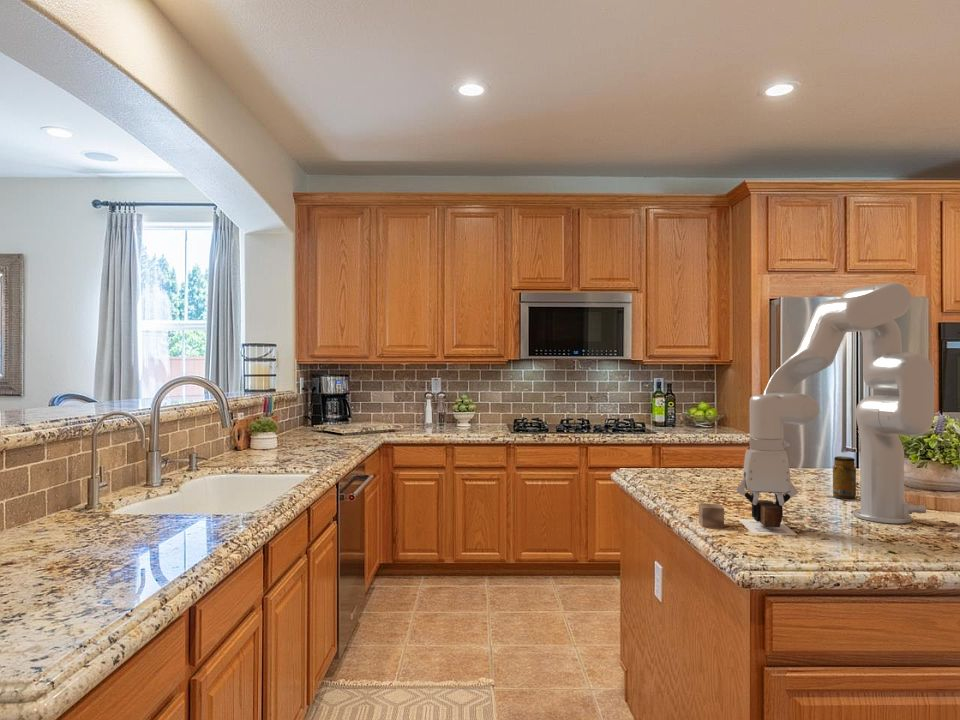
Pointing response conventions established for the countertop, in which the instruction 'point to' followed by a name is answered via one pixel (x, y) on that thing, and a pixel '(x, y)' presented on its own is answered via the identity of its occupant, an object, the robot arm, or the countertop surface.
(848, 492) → the condiment
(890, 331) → the robot arm
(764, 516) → the brick
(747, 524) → the letter
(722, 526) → the walnut block
